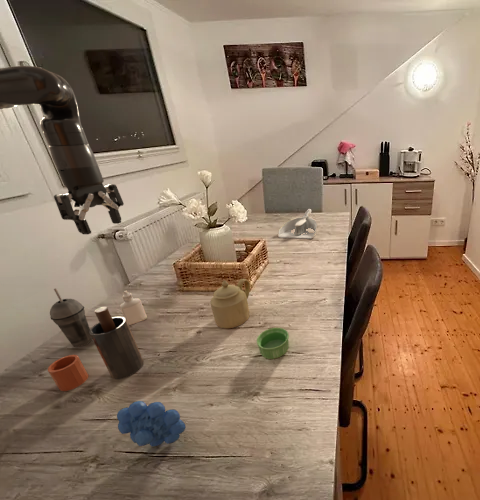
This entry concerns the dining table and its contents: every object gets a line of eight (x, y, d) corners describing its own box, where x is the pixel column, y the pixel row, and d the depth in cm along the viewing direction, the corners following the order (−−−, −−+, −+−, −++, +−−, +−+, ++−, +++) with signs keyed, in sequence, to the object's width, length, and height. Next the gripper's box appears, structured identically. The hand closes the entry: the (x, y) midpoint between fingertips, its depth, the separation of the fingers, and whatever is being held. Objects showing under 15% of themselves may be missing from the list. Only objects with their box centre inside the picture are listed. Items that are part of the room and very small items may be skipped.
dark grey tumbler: (116, 385, 72) (93, 339, 66) (108, 372, 76) (85, 327, 70) (148, 367, 77) (129, 323, 71) (139, 356, 81) (120, 313, 75)
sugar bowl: (223, 304, 104) (214, 268, 98) (254, 301, 105) (247, 265, 99) (211, 330, 90) (200, 290, 84) (246, 326, 92) (238, 287, 86)
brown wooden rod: (121, 375, 74) (93, 315, 66) (117, 368, 76) (89, 310, 68) (137, 366, 76) (112, 308, 68) (133, 360, 78) (107, 303, 71)
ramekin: (257, 344, 84) (254, 332, 82) (286, 335, 87) (285, 324, 85) (260, 365, 76) (258, 352, 75) (293, 354, 80) (291, 342, 78)
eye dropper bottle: (145, 322, 95) (133, 292, 90) (125, 327, 93) (112, 296, 88) (148, 315, 99) (137, 286, 94) (129, 319, 97) (116, 290, 92)
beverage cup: (97, 332, 91) (71, 278, 83) (100, 342, 86) (72, 287, 78) (67, 343, 86) (36, 287, 78) (68, 355, 82) (35, 297, 74)
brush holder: (62, 396, 69) (49, 375, 66) (58, 385, 72) (45, 364, 69) (91, 381, 73) (80, 361, 70) (86, 371, 76) (75, 351, 73)
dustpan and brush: (276, 237, 167) (274, 222, 163) (295, 221, 196) (294, 207, 193) (313, 239, 163) (312, 223, 159) (327, 221, 193) (326, 208, 189)
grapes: (116, 470, 53) (91, 428, 49) (137, 434, 60) (116, 395, 55) (180, 461, 55) (162, 420, 50) (194, 427, 61) (179, 388, 56)
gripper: (92, 161, 75) (114, 220, 81) (30, 169, 62) (62, 237, 68) (117, 161, 74) (137, 220, 80) (58, 169, 61) (88, 238, 67)
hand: (102, 228), depth 74 cm, fingers open, 8 cm apart
